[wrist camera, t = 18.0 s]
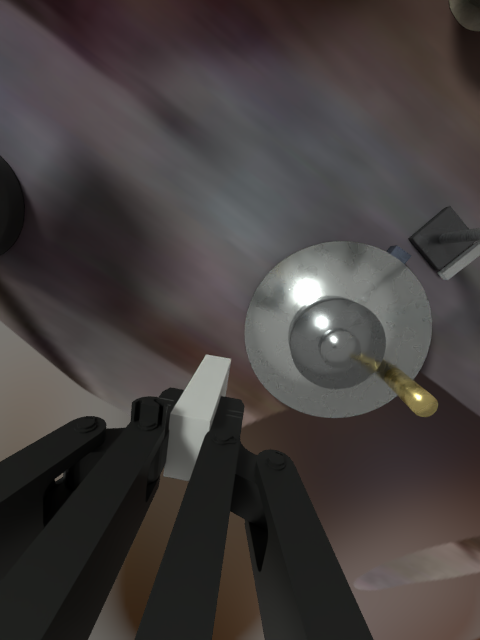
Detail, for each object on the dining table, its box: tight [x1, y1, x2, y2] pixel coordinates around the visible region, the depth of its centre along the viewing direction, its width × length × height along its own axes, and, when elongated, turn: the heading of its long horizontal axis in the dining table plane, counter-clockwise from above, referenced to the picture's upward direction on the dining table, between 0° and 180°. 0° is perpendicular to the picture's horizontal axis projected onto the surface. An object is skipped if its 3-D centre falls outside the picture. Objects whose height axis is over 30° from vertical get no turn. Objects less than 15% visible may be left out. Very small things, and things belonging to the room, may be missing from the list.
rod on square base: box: [408, 206, 480, 280], centre depth 27 cm, size 8×6×16 cm
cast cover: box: [288, 295, 386, 389], centre depth 32 cm, size 10×10×6 cm
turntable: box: [245, 241, 438, 418], centre depth 32 cm, size 23×22×9 cm
